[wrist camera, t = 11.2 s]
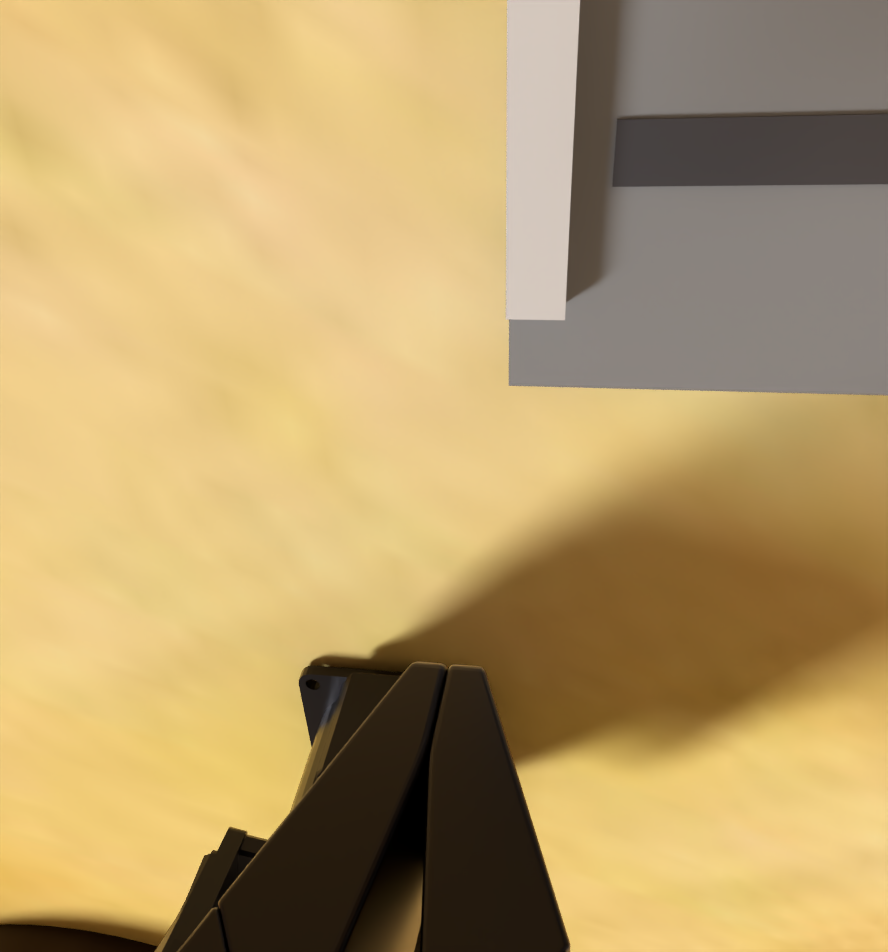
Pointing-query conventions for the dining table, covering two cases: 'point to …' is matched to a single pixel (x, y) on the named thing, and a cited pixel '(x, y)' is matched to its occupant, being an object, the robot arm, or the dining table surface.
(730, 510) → the dining table surface
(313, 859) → the robot arm
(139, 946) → the wall clock
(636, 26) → the fader console
